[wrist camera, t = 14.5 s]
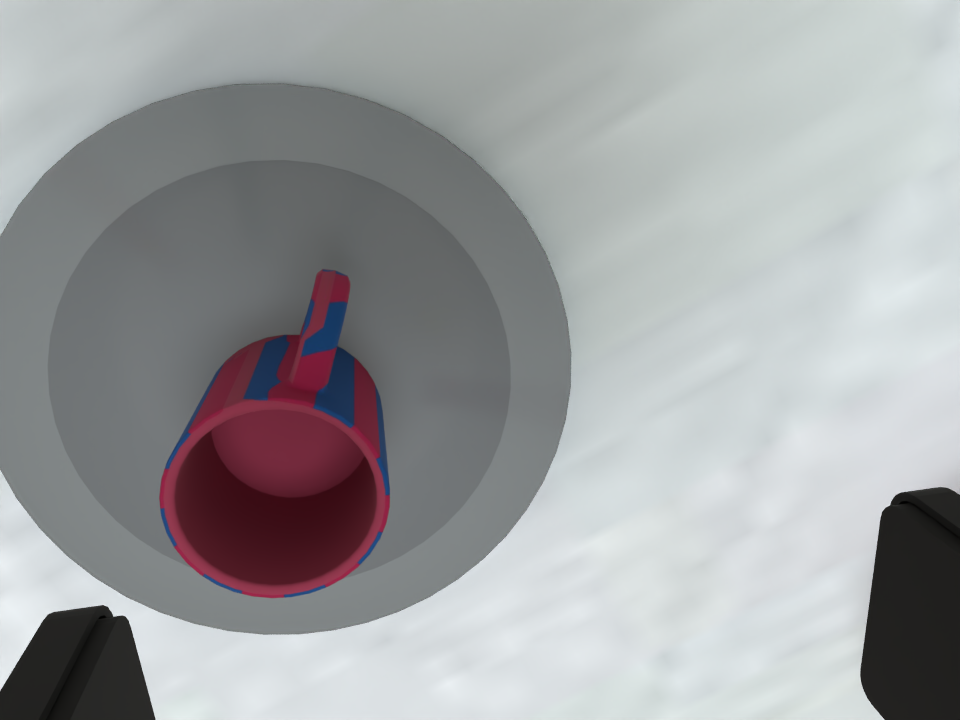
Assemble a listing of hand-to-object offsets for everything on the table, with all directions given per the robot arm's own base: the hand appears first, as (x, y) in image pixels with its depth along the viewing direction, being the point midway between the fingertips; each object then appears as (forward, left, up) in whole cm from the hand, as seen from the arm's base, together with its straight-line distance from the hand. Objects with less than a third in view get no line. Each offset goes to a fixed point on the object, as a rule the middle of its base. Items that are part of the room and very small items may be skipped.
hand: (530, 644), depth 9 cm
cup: (+3, -4, -20) cm, 21 cm away
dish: (+3, -5, -21) cm, 22 cm away
